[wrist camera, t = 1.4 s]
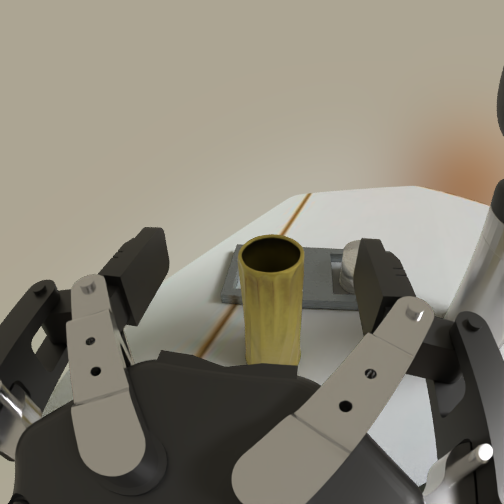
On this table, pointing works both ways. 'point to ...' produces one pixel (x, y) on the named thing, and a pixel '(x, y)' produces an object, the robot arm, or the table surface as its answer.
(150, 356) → the table surface
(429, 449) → the table surface
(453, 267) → the table surface
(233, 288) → the grey rectangular frame
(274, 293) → the vase
